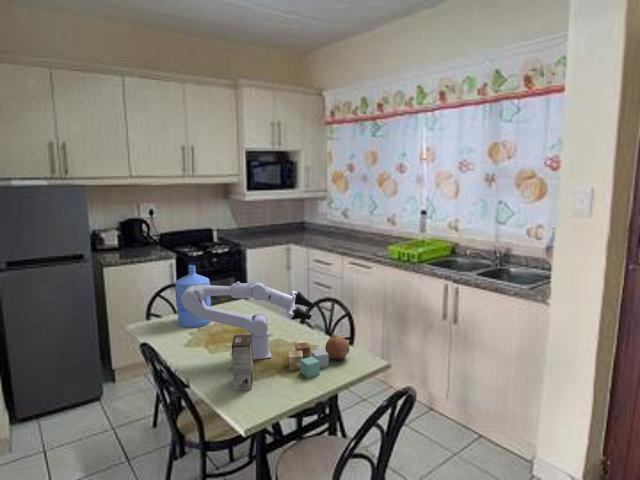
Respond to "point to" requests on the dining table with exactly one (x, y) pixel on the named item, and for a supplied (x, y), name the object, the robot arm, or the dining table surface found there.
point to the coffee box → (242, 362)
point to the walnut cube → (303, 349)
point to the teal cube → (310, 367)
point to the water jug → (191, 279)
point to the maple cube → (295, 359)
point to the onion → (337, 347)
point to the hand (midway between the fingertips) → (311, 311)
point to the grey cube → (321, 357)
